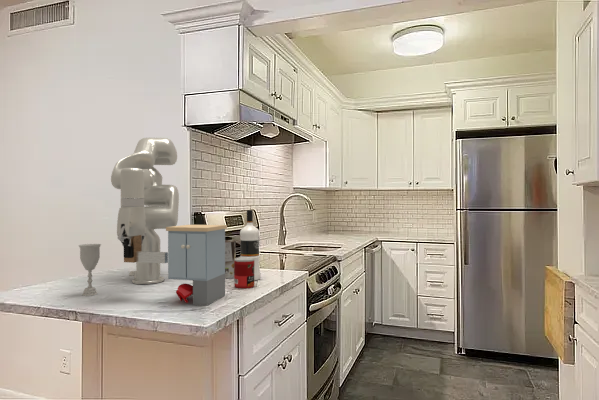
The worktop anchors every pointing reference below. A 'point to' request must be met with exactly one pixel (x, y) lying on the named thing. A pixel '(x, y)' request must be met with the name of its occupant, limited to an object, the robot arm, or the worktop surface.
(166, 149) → the robot arm
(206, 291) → the cabinet
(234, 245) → the coffee box
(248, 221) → the vodka
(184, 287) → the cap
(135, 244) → the blade tool
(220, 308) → the worktop surface
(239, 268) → the canned food
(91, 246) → the chalice
